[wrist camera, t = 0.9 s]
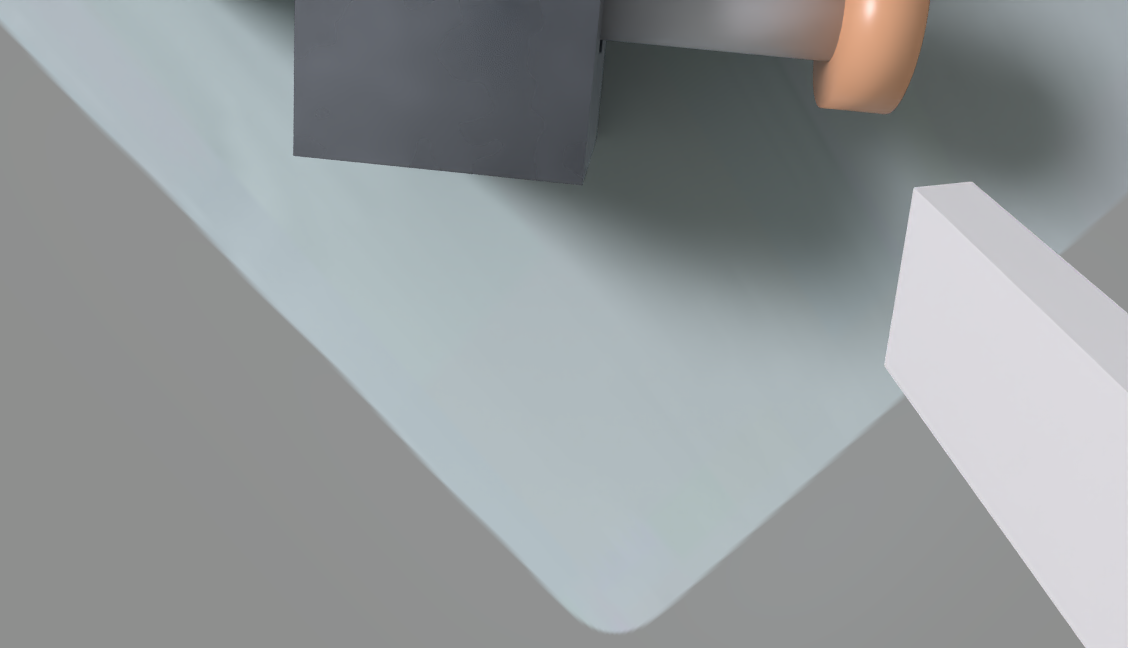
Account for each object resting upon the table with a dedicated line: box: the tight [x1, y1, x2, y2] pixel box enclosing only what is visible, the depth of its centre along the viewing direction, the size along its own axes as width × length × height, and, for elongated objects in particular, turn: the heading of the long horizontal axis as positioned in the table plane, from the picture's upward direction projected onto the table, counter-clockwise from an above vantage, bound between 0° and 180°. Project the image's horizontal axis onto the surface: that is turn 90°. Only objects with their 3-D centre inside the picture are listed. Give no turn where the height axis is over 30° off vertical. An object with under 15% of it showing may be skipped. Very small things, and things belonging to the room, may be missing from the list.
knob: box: [600, 0, 930, 114], centre depth 29 cm, size 10×5×5 cm, turn 85°
